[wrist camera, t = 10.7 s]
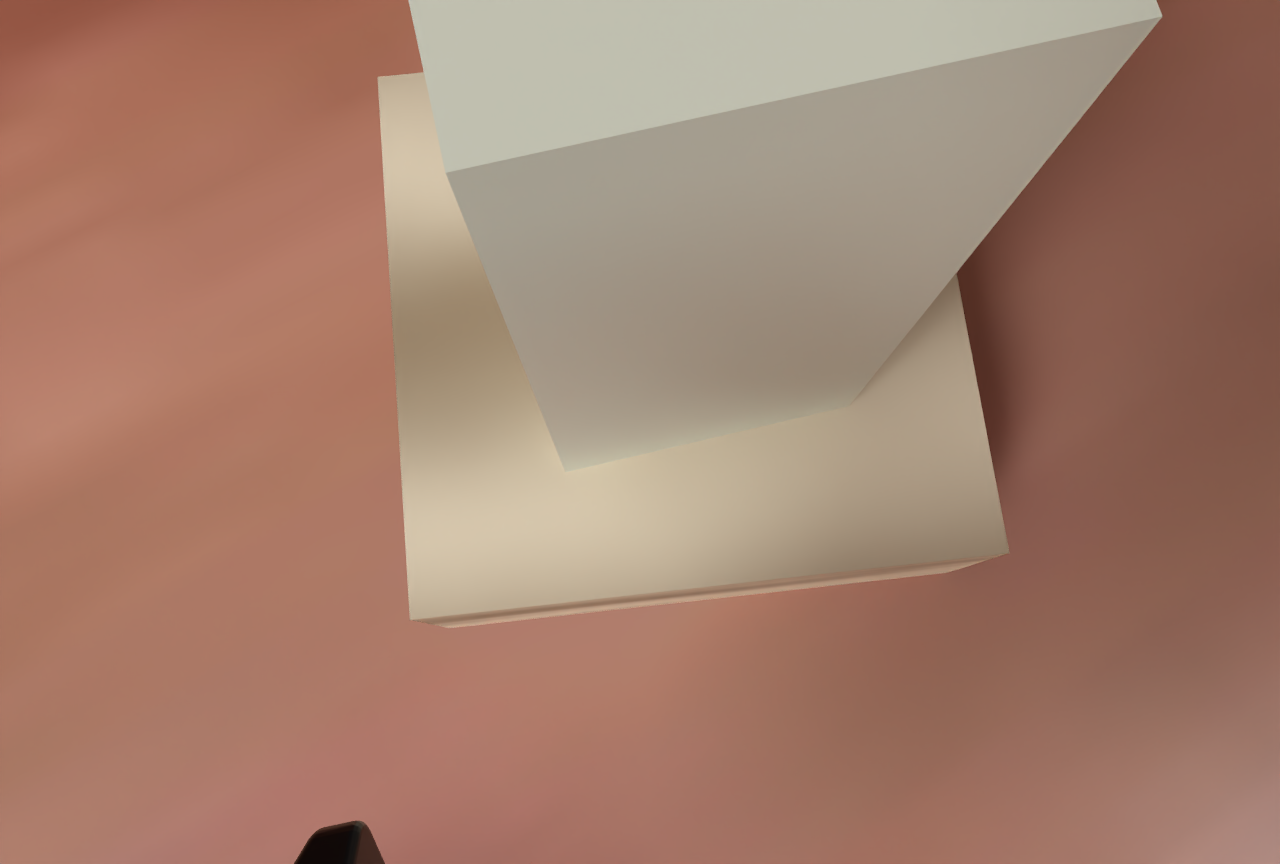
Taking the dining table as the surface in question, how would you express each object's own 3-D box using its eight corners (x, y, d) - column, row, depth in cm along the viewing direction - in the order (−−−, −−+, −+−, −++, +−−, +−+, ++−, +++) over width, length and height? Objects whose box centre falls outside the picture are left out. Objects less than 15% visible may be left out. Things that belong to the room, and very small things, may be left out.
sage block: (849, 405, 18) (1162, 15, 7) (565, 472, 18) (446, 173, 7) (773, 147, 19) (947, -532, 8) (505, 207, 19) (320, -414, 8)
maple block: (941, 574, 21) (1009, 553, 17) (453, 628, 21) (410, 619, 17) (864, 131, 23) (909, 24, 19) (422, 176, 23) (377, 77, 19)
